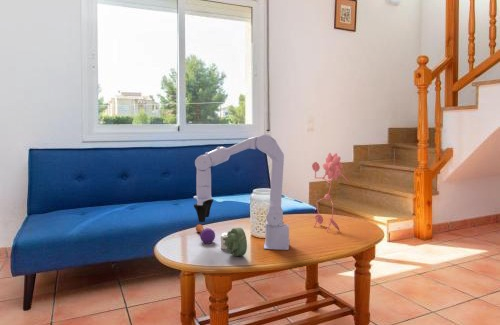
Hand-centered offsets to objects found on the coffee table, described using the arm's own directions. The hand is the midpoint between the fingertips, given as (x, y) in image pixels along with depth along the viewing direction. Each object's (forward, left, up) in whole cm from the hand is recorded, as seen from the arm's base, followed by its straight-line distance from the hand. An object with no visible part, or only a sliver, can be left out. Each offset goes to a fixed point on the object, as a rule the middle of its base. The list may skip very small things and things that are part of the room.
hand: (204, 219), depth 149 cm
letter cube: (-10, +2, -10) cm, 14 cm away
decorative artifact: (-13, +12, -10) cm, 20 cm away
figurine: (-54, -30, -10) cm, 63 cm away
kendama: (+2, -9, -11) cm, 14 cm away
